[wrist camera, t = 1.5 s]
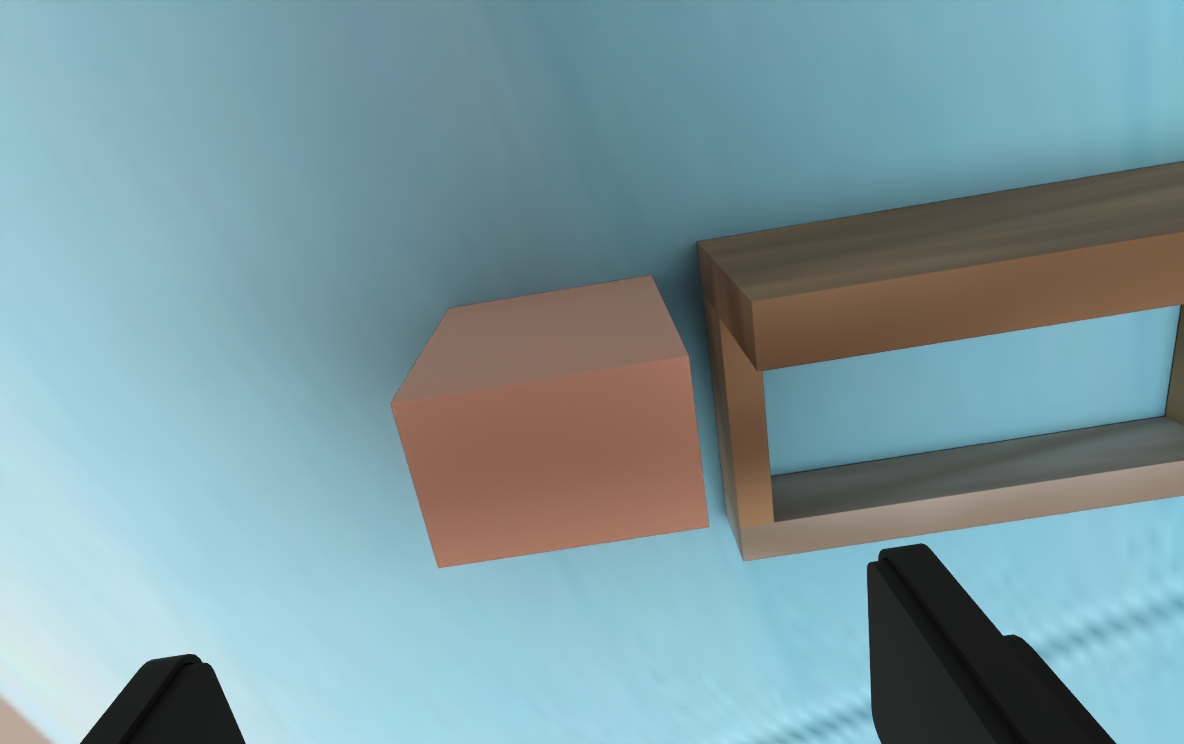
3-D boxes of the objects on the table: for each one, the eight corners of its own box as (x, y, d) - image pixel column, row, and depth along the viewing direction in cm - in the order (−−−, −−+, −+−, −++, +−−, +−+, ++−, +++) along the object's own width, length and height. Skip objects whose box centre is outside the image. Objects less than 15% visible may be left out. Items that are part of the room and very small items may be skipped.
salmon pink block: (448, 307, 20) (390, 403, 14) (651, 274, 20) (689, 355, 14) (483, 452, 22) (446, 597, 16) (671, 422, 22) (712, 557, 15)
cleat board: (696, 241, 20) (751, 302, 14) (1240, 151, 19) (1546, 172, 13) (726, 515, 23) (780, 661, 17) (1191, 444, 23) (1418, 569, 17)
